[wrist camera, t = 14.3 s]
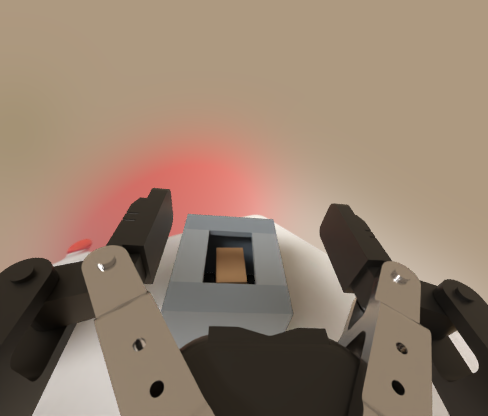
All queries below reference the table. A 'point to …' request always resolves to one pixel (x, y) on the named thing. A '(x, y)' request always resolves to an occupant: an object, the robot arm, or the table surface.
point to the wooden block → (230, 266)
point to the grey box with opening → (223, 294)
